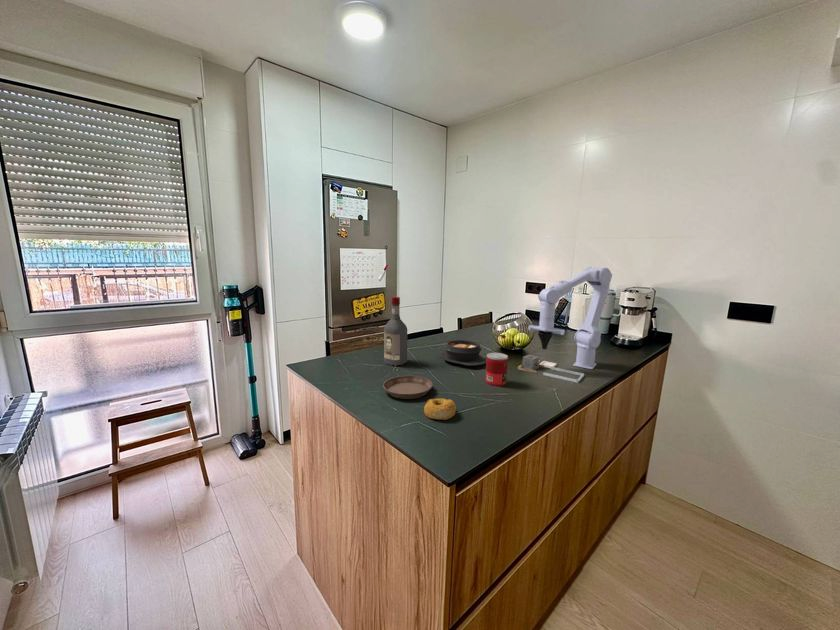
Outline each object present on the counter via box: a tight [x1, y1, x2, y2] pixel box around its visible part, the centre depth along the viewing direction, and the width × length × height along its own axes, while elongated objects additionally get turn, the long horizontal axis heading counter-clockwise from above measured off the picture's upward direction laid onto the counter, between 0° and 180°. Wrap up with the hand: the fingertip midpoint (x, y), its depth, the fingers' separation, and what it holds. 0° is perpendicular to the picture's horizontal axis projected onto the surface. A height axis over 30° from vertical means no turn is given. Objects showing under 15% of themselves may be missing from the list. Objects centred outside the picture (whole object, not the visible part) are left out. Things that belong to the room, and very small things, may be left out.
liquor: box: [383, 296, 408, 367], centre depth 148 cm, size 9×9×30 cm
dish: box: [539, 360, 558, 369], centre depth 149 cm, size 6×6×1 cm
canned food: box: [485, 352, 509, 387], centre depth 127 cm, size 8×8×11 cm
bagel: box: [423, 397, 457, 421], centre depth 102 cm, size 10×11×5 cm
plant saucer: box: [382, 375, 433, 400], centre depth 119 cm, size 18×18×3 cm
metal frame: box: [542, 366, 585, 383], centre depth 137 cm, size 10×14×1 cm
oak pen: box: [517, 363, 545, 374], centre depth 145 cm, size 10×8×1 cm
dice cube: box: [521, 354, 540, 371], centre depth 146 cm, size 5×5×5 cm
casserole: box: [439, 339, 486, 367], centre depth 154 cm, size 25×19×8 cm
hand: (544, 348), depth 142 cm, fingers closed
